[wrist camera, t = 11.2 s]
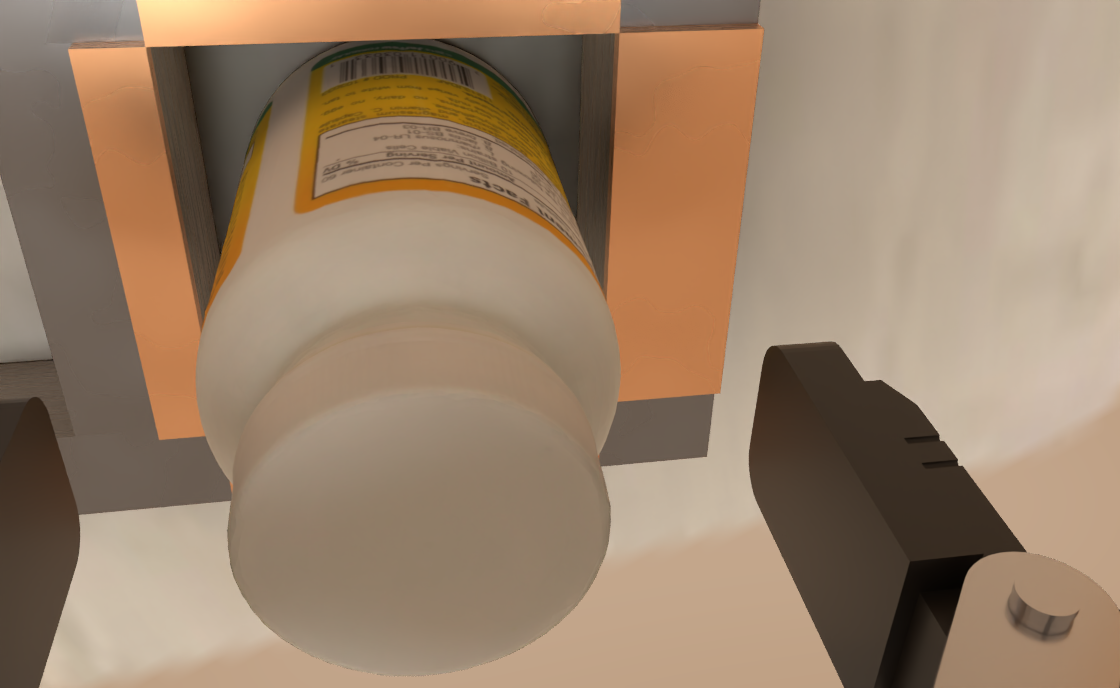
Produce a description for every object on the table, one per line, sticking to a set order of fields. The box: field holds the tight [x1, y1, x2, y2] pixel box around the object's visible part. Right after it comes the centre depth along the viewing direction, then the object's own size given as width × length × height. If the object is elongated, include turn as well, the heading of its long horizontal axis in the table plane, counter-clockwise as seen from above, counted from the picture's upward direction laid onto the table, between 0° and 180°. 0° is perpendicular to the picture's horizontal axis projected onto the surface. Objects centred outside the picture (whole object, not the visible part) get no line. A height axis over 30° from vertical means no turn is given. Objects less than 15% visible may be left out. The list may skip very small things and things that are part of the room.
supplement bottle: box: [196, 39, 621, 676], centre depth 15 cm, size 5×5×10 cm
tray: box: [0, 0, 764, 515], centre depth 17 cm, size 10×20×3 cm, turn 89°
